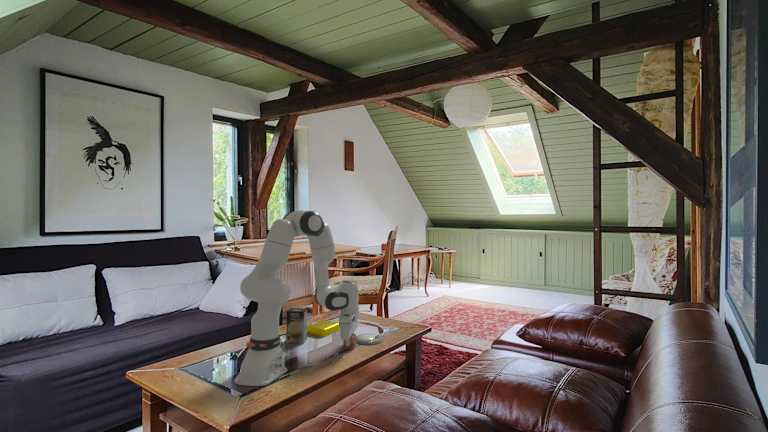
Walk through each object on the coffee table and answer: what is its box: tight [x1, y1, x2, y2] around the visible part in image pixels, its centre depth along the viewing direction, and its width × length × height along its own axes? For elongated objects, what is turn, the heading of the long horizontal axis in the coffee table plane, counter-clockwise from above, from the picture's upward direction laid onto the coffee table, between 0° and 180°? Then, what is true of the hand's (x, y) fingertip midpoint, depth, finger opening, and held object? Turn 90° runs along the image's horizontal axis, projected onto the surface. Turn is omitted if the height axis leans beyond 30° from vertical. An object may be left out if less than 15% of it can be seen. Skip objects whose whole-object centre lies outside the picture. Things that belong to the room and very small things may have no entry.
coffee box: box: [285, 307, 308, 345], centre depth 209 cm, size 9×6×16 cm
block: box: [342, 333, 357, 350], centre depth 201 cm, size 5×5×6 cm
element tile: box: [307, 318, 340, 338], centre depth 226 cm, size 15×15×5 cm
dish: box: [356, 333, 384, 346], centre depth 212 cm, size 14×14×1 cm
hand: (349, 343), depth 201 cm, fingers closed on block, 5 cm apart
